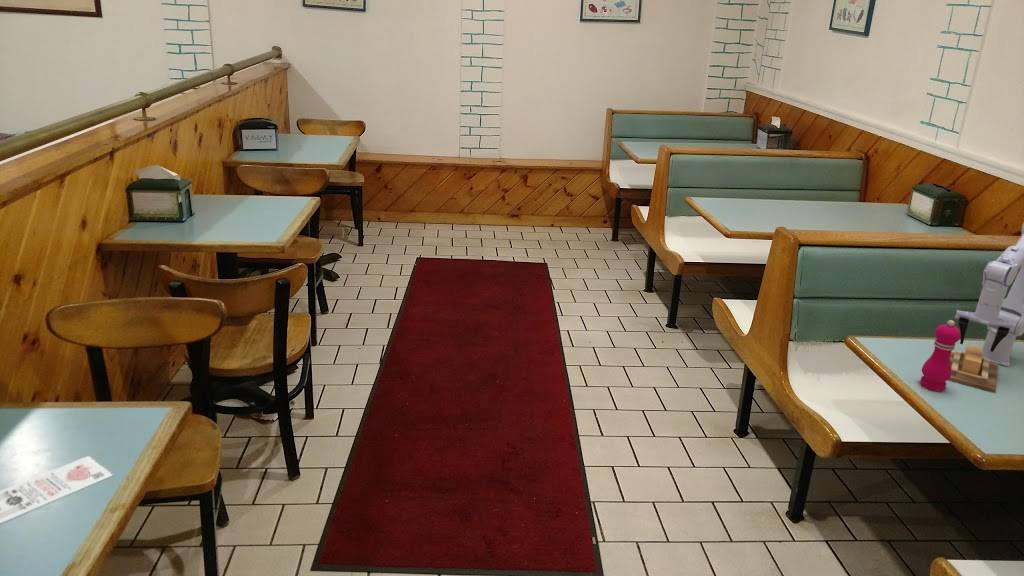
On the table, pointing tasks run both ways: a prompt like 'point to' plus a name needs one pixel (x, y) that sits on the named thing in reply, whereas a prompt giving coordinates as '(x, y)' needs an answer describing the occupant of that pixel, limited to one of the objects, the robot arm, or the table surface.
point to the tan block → (972, 359)
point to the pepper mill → (940, 358)
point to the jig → (982, 380)
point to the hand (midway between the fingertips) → (976, 346)
